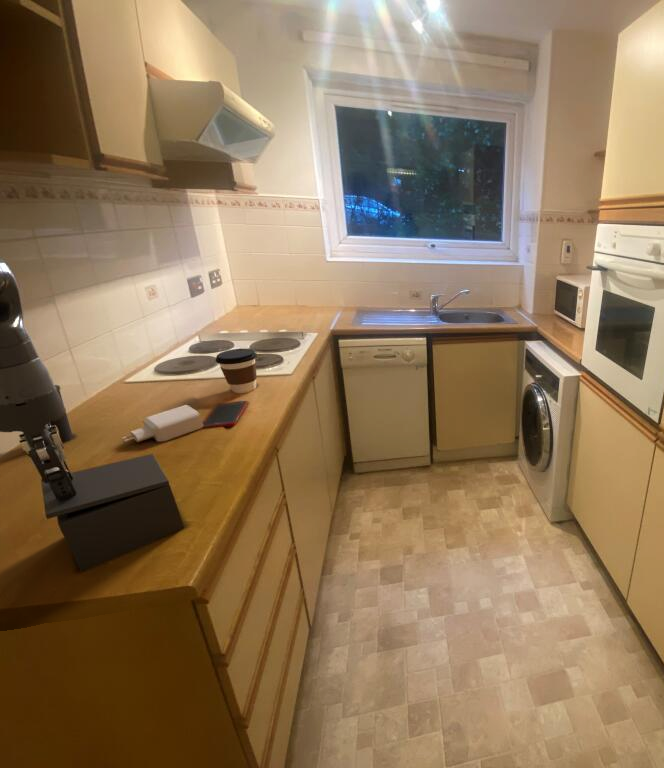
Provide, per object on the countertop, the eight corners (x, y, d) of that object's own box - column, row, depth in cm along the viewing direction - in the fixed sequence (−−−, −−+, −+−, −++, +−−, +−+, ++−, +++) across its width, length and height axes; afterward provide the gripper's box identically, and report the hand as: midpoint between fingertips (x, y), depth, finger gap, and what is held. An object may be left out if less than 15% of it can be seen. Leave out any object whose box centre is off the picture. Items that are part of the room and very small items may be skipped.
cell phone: (248, 403, 126) (247, 400, 126) (235, 426, 113) (234, 423, 113) (217, 406, 124) (216, 403, 123) (200, 430, 111) (199, 427, 111)
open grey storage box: (82, 574, 68) (58, 524, 64) (74, 535, 76) (52, 489, 72) (185, 530, 77) (169, 484, 73) (168, 500, 85) (153, 457, 81)
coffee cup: (230, 384, 139) (221, 349, 135) (267, 381, 142) (260, 346, 138) (219, 398, 130) (208, 360, 125) (259, 394, 133) (251, 357, 128)
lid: (46, 519, 63) (37, 488, 61) (42, 483, 71) (33, 455, 69) (169, 484, 73) (163, 457, 72) (153, 457, 81) (148, 432, 80)
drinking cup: (44, 439, 106) (9, 362, 99) (85, 432, 110) (54, 357, 102) (31, 454, 100) (-7, 373, 92) (75, 445, 103) (41, 367, 96)
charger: (120, 443, 105) (190, 419, 116) (133, 455, 100) (205, 428, 111) (113, 426, 103) (185, 403, 114) (125, 437, 98) (199, 412, 109)
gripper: (-20, 386, 64) (30, 482, 70) (-24, 416, 55) (34, 522, 61) (51, 372, 69) (92, 463, 76) (58, 398, 60) (103, 498, 67)
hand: (65, 489), depth 68 cm, fingers closed on lid, 5 cm apart
